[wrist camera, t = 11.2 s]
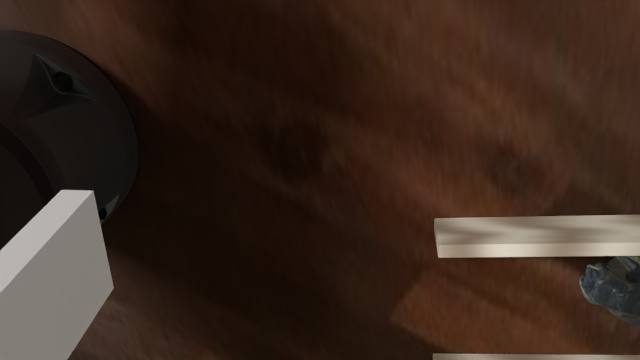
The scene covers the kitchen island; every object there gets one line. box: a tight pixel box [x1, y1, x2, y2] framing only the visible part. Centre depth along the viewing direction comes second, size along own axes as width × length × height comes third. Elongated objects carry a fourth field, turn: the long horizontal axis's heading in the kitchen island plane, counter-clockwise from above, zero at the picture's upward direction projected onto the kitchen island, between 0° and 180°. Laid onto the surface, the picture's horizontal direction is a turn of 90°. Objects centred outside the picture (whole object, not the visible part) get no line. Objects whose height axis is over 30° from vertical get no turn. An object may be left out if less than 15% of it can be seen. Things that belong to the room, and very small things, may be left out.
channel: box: [433, 215, 640, 360], centre depth 42 cm, size 27×20×4 cm
